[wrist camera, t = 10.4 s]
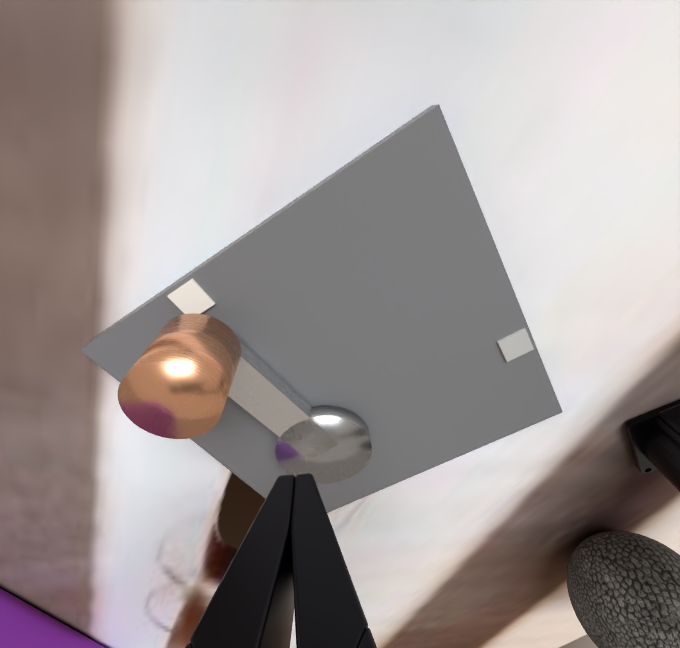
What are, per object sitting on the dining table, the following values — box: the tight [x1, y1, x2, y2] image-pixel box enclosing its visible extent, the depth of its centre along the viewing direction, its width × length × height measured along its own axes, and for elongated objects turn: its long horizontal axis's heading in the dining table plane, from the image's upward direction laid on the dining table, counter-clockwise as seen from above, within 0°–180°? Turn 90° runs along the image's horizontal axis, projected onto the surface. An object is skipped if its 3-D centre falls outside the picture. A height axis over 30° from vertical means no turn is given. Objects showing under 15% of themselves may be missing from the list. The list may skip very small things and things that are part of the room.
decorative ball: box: [567, 531, 680, 648], centre depth 28 cm, size 10×10×10 cm
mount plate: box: [80, 105, 562, 513], centre depth 21 cm, size 20×21×1 cm
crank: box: [118, 313, 372, 483], centre depth 19 cm, size 15×6×5 cm, turn 37°
